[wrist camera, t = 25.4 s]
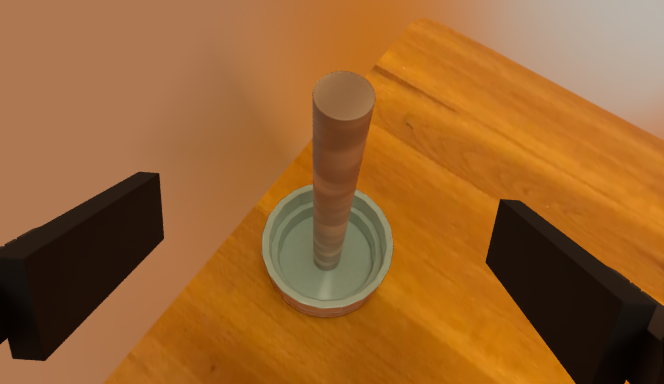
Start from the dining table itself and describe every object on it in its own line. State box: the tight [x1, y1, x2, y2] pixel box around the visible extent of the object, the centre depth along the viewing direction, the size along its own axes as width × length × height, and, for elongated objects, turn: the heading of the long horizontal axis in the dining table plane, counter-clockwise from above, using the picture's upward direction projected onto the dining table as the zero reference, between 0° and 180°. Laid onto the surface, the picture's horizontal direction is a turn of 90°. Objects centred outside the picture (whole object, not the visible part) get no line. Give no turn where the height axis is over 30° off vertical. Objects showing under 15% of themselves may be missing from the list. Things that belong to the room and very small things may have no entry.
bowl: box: [262, 184, 393, 318], centre depth 35 cm, size 11×11×6 cm
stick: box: [313, 71, 375, 271], centre depth 26 cm, size 3×3×24 cm
